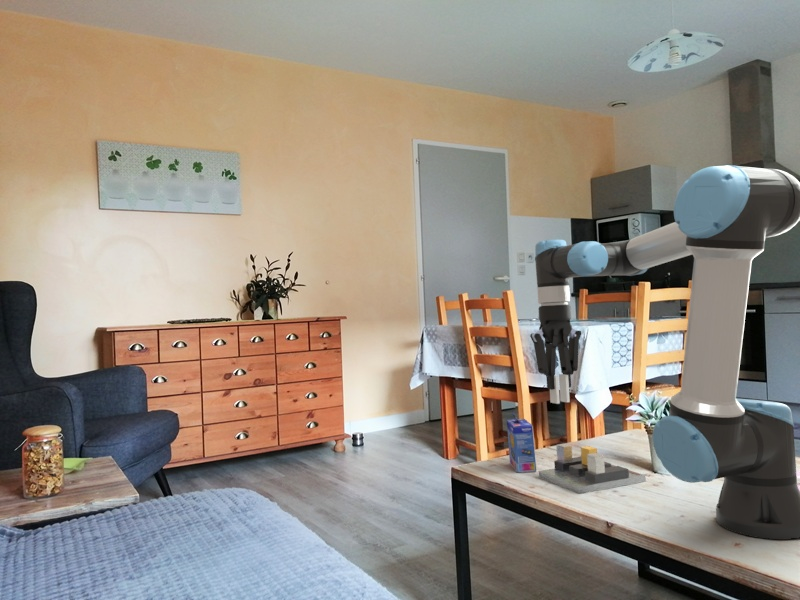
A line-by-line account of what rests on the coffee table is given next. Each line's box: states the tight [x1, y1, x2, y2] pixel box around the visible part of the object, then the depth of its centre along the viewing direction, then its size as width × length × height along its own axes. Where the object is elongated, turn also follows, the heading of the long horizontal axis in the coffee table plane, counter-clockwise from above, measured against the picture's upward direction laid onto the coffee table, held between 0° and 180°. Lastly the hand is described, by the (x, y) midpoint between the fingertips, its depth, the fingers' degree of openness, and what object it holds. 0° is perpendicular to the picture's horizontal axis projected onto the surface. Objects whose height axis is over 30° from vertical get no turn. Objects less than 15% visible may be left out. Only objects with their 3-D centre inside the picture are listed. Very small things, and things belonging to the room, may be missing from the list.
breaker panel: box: [538, 443, 647, 495], centre depth 145 cm, size 16×19×8 cm
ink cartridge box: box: [506, 412, 538, 474], centre depth 159 cm, size 10×6×14 cm, turn 1°
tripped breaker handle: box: [580, 445, 598, 466], centre depth 145 cm, size 3×2×4 cm
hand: (560, 402), depth 143 cm, fingers open, 2 cm apart
